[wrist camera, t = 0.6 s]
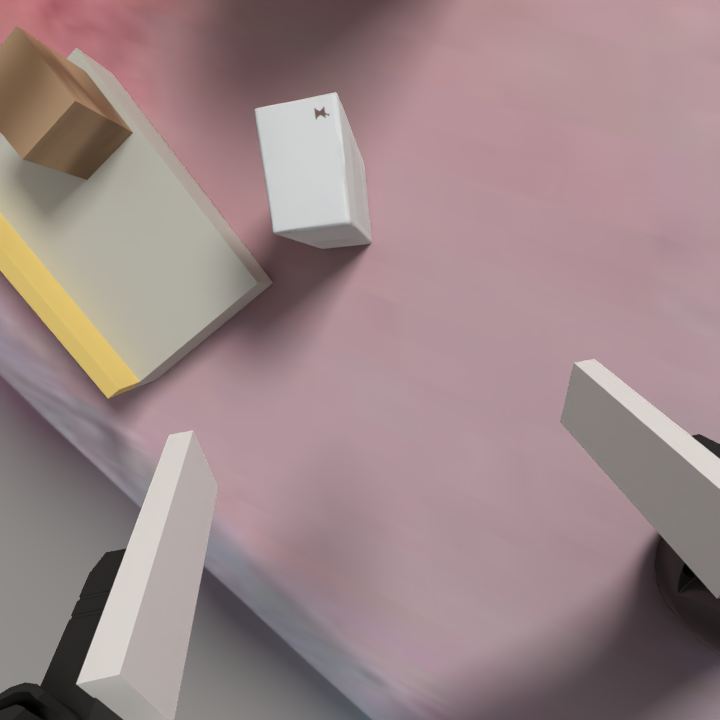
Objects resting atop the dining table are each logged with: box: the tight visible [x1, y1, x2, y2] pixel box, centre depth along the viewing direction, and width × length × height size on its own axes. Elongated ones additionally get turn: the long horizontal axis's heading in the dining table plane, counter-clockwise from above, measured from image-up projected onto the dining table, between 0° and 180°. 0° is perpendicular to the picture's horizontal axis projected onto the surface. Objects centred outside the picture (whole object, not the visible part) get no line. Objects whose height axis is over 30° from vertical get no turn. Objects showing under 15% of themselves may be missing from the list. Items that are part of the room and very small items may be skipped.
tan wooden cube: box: [0, 27, 133, 180], centre depth 26 cm, size 5×5×5 cm
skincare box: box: [255, 92, 372, 249], centre depth 25 cm, size 6×4×12 cm
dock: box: [0, 48, 273, 399], centre depth 30 cm, size 20×14×6 cm
